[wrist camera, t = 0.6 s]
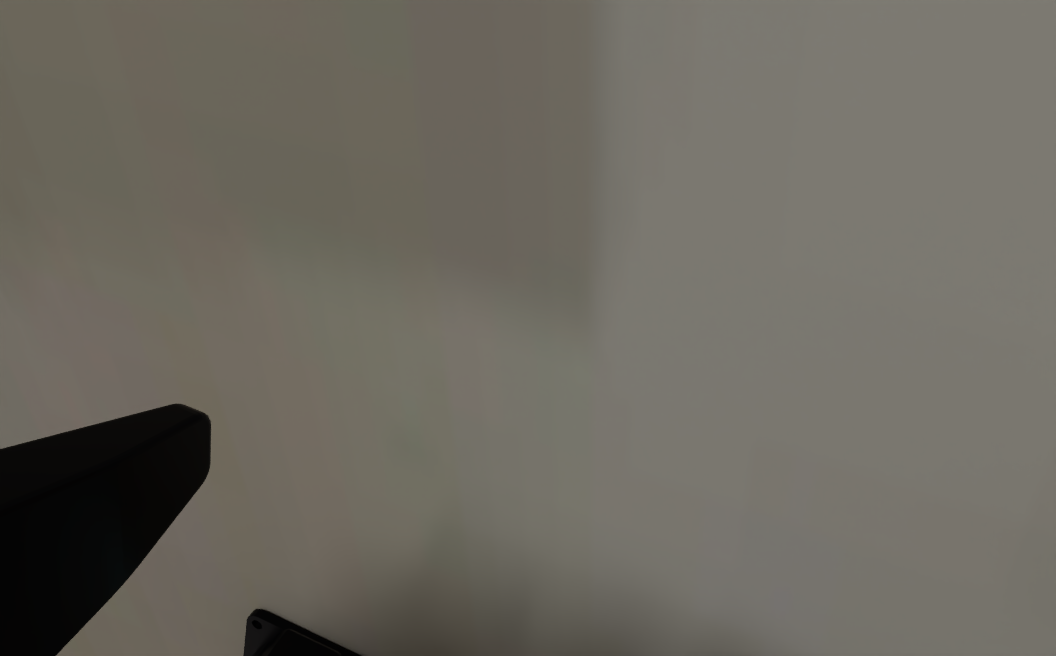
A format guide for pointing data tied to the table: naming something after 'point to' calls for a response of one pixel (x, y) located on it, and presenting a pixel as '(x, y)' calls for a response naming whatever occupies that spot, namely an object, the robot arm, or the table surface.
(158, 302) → the table surface
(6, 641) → the robot arm
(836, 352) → the table surface
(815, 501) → the table surface
